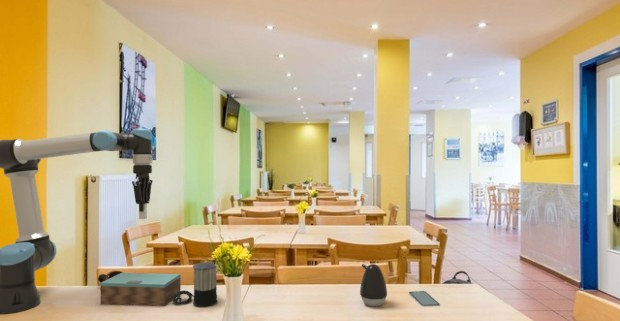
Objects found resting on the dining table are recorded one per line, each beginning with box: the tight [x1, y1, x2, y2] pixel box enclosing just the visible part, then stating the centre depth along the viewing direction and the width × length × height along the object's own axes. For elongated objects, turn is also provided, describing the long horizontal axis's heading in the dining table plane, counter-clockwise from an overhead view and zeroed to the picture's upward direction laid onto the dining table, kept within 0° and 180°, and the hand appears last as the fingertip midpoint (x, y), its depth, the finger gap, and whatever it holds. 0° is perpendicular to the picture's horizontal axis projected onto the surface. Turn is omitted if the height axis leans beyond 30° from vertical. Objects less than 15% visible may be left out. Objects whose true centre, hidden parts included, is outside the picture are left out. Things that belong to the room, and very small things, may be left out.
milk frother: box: [171, 261, 218, 308], centre depth 154 cm, size 14×16×15 cm
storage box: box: [100, 277, 182, 307], centre depth 159 cm, size 26×14×7 cm, turn 84°
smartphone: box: [408, 290, 441, 307], centre depth 156 cm, size 7×1×15 cm
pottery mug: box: [97, 270, 124, 283], centre depth 173 cm, size 12×10×8 cm
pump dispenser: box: [359, 263, 388, 307], centre depth 151 cm, size 10×10×15 cm
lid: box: [100, 272, 181, 288], centre depth 159 cm, size 26×14×2 cm, turn 84°
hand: (142, 218), depth 171 cm, fingers closed
